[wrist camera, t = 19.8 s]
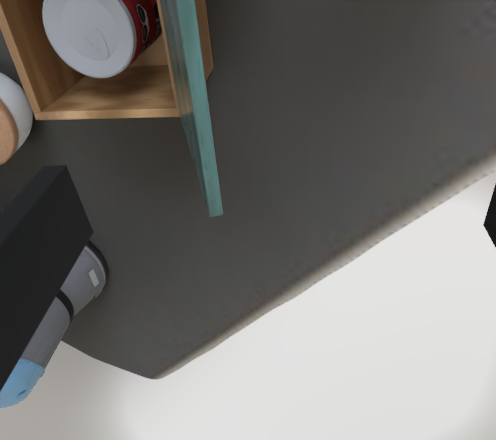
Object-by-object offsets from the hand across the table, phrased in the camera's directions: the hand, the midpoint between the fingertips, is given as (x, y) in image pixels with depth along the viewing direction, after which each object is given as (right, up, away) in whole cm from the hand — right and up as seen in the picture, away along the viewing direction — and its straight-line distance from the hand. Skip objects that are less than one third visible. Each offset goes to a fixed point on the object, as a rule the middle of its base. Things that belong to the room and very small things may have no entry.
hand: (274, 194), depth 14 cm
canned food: (-13, +21, +31) cm, 40 cm away
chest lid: (-5, +10, +13) cm, 17 cm away
